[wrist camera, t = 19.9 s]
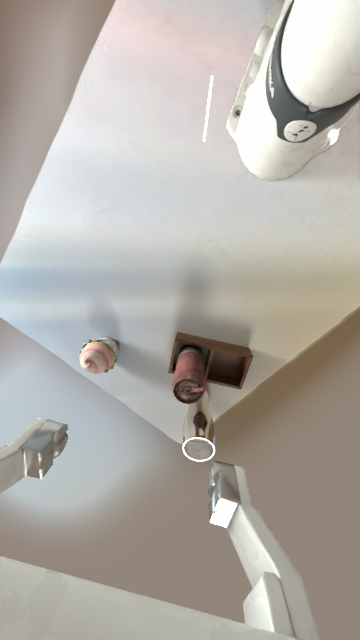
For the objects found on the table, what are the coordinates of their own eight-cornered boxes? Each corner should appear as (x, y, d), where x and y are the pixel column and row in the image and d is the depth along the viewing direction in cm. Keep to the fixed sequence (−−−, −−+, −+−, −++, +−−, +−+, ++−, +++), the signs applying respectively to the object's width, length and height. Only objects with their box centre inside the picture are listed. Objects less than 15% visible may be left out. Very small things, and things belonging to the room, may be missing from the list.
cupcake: (131, 346, 48) (114, 367, 38) (112, 368, 51) (92, 393, 41) (102, 324, 47) (78, 339, 37) (85, 348, 49) (58, 368, 40)
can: (208, 359, 46) (212, 398, 33) (186, 368, 47) (181, 409, 34) (197, 339, 45) (196, 372, 31) (175, 349, 46) (165, 385, 33)
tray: (177, 332, 45) (175, 338, 41) (248, 347, 45) (253, 356, 41) (170, 364, 48) (168, 372, 44) (237, 379, 48) (241, 389, 44)
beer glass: (214, 390, 49) (220, 442, 35) (207, 409, 52) (210, 465, 37) (189, 383, 50) (186, 432, 35) (183, 403, 52) (178, 456, 38)
